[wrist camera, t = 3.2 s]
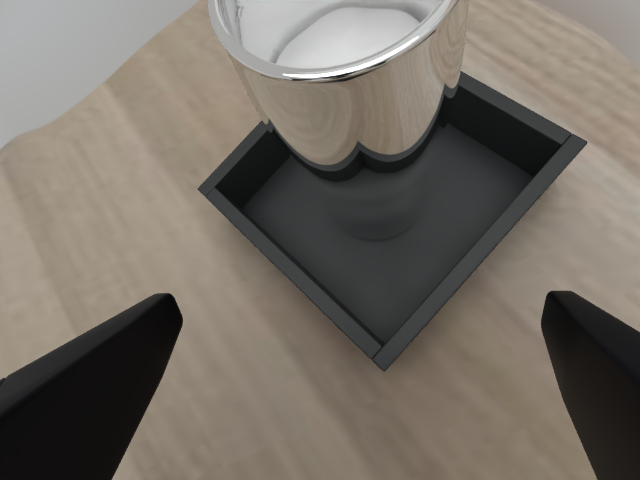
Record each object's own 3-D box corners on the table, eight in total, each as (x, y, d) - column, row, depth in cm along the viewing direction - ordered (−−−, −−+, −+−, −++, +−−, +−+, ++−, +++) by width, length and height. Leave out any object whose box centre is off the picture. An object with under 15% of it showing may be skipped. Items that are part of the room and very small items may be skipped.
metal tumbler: (399, 126, 23) (393, -189, 9) (455, 214, 21) (558, -25, 7) (306, 176, 24) (167, -49, 10) (350, 266, 22) (253, 142, 8)
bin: (553, 178, 21) (588, 141, 17) (388, 365, 20) (384, 372, 16) (367, 63, 26) (360, 14, 22) (229, 211, 25) (197, 189, 21)
